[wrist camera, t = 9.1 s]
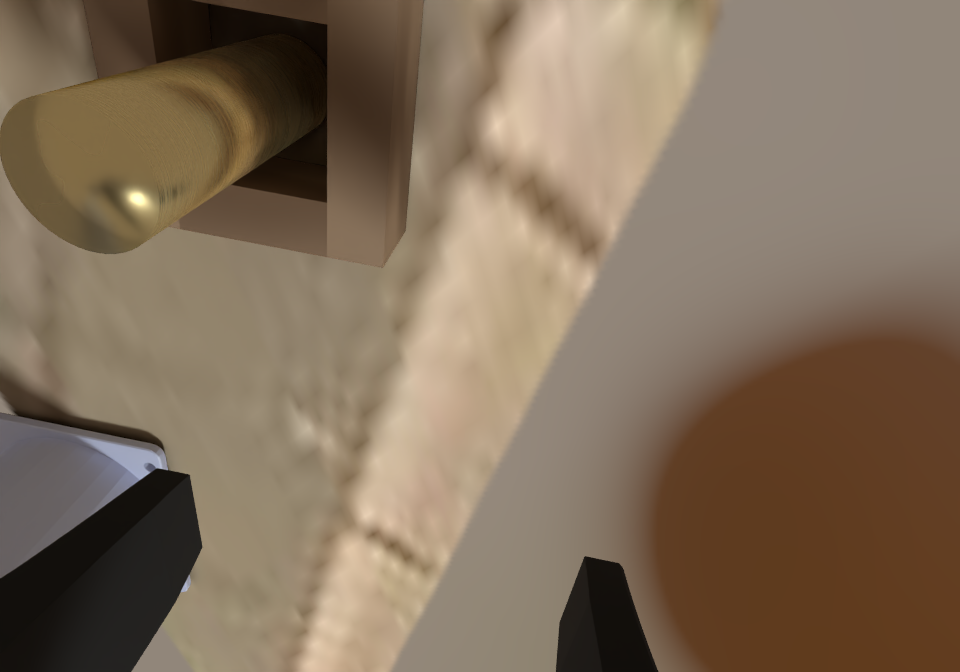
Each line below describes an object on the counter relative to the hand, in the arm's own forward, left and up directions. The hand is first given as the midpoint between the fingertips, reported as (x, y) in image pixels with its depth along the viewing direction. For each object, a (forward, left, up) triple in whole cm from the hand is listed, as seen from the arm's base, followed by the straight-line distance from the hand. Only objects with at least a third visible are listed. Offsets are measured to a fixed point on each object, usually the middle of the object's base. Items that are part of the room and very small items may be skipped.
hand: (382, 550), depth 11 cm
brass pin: (+6, +6, -9) cm, 12 cm away
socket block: (+6, +6, -9) cm, 12 cm away
